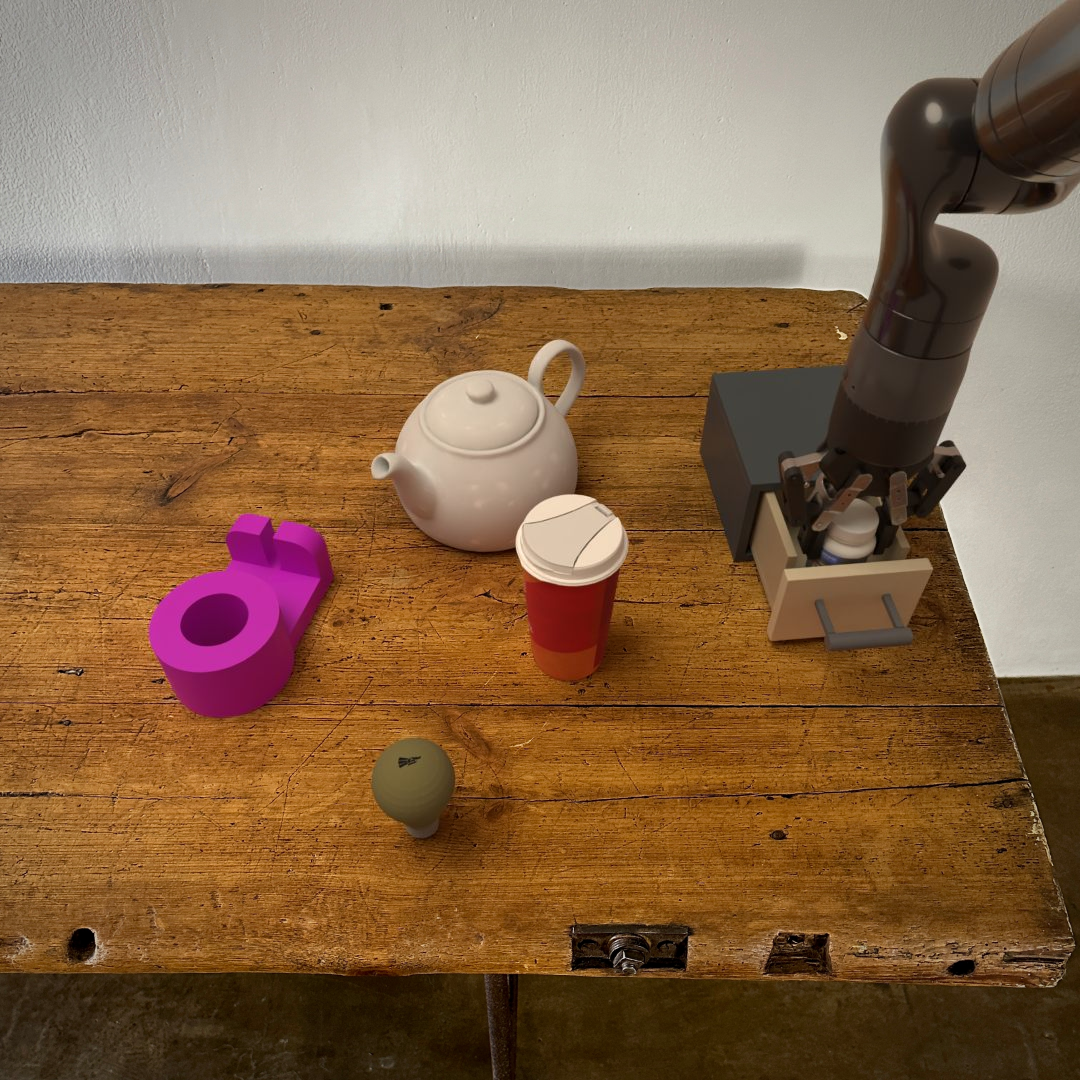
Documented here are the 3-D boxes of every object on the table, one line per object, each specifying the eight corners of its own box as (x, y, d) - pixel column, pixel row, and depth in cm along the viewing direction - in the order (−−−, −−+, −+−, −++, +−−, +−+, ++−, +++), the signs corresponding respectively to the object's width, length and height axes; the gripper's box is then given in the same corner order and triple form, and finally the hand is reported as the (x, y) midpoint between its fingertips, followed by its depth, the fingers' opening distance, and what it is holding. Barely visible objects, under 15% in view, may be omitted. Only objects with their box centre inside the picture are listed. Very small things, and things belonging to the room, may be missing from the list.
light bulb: (409, 880, 68) (393, 814, 60) (370, 819, 71) (350, 750, 63) (476, 835, 70) (468, 767, 63) (435, 778, 73) (423, 707, 66)
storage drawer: (925, 676, 78) (957, 616, 72) (785, 689, 77) (805, 629, 71) (853, 513, 90) (875, 450, 84) (731, 522, 90) (745, 459, 84)
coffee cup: (572, 596, 85) (577, 473, 74) (638, 655, 81) (653, 534, 70) (497, 647, 81) (490, 525, 70) (562, 712, 77) (565, 593, 66)
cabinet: (871, 551, 88) (901, 473, 81) (733, 562, 88) (751, 484, 80) (823, 442, 98) (846, 364, 91) (699, 450, 97) (712, 373, 90)
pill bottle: (797, 596, 81) (818, 528, 75) (805, 556, 84) (826, 487, 78) (855, 611, 80) (881, 542, 74) (861, 570, 83) (887, 500, 77)
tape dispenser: (261, 729, 76) (243, 685, 71) (148, 701, 78) (123, 656, 73) (342, 578, 86) (330, 530, 82) (240, 556, 88) (224, 508, 83)
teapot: (590, 565, 87) (597, 454, 77) (385, 566, 87) (365, 454, 77) (582, 427, 100) (587, 316, 90) (403, 428, 100) (388, 316, 90)
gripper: (812, 425, 63) (767, 592, 76) (1023, 411, 64) (944, 578, 77) (781, 355, 68) (743, 522, 81) (978, 343, 69) (910, 510, 82)
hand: (842, 548), depth 79 cm, fingers closed on pill bottle, 4 cm apart
